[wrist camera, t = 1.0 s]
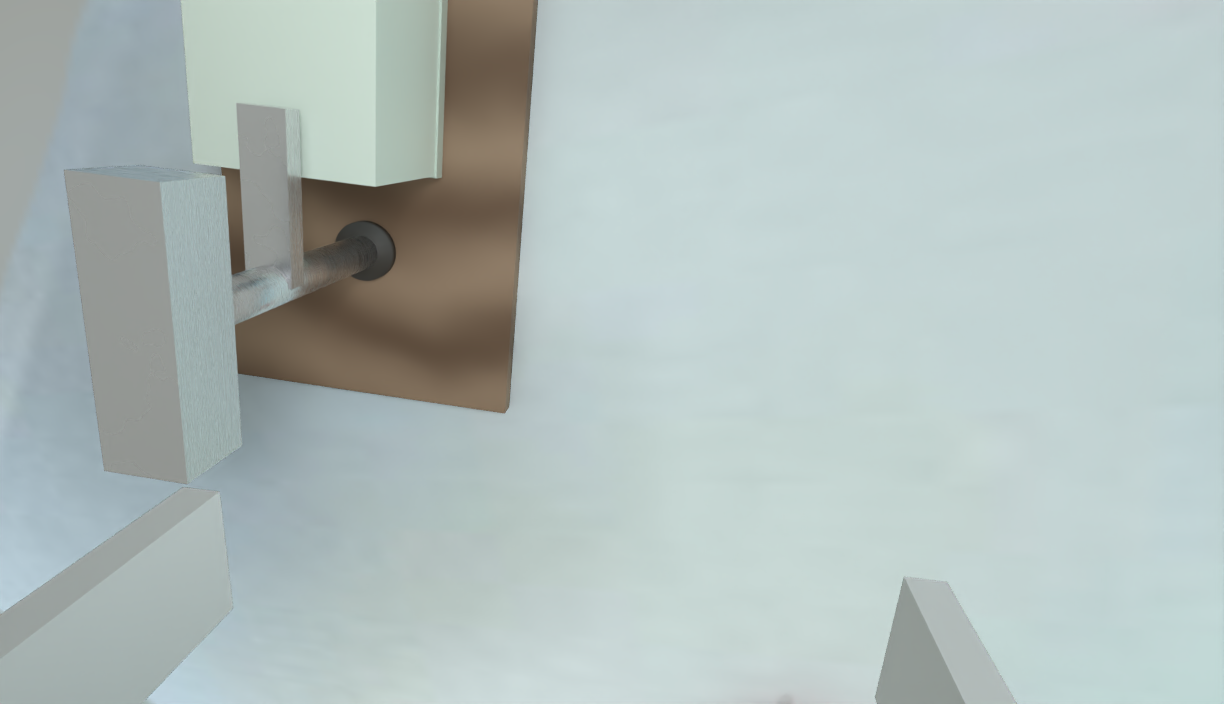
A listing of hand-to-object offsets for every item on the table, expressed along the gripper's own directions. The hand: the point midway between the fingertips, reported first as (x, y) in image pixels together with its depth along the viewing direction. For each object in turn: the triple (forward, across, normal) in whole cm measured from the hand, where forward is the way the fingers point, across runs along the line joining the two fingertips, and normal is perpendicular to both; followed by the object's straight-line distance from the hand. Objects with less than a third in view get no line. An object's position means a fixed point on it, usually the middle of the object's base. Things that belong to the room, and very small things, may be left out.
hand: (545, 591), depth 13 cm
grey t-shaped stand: (+24, -15, +2) cm, 29 cm away
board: (+26, -15, +5) cm, 31 cm away
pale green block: (+25, -15, +11) cm, 31 cm away
